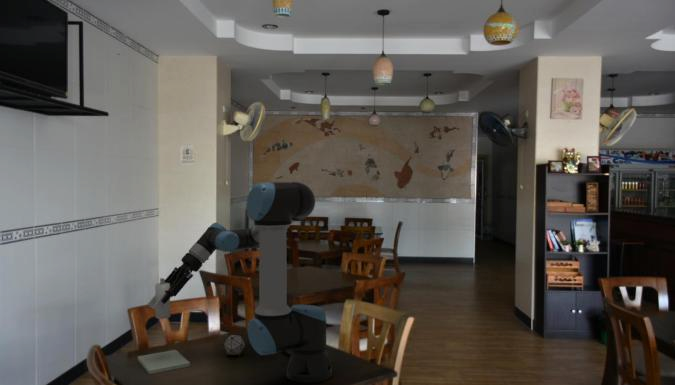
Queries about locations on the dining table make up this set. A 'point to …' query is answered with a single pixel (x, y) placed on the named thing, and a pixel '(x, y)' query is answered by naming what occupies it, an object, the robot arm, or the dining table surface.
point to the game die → (234, 345)
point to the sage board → (163, 361)
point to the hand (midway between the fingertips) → (152, 308)
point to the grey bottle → (159, 291)
